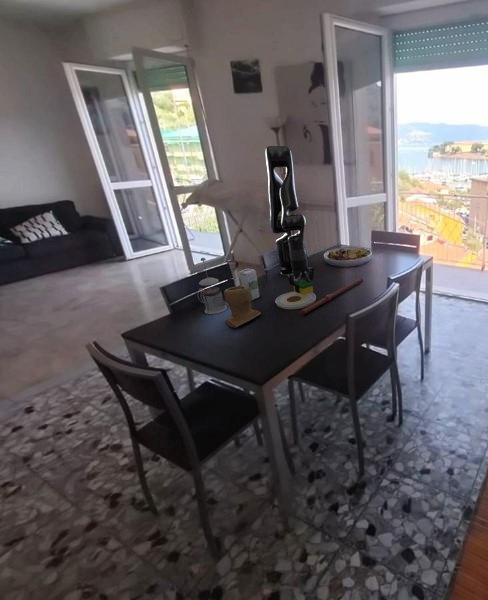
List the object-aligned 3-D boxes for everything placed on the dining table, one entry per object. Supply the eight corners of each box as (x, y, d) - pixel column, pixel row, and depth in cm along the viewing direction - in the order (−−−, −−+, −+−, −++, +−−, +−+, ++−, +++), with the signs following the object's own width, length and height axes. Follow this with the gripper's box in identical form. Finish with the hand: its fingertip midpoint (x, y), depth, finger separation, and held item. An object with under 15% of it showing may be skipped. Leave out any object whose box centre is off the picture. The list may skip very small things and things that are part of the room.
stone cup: (246, 310, 162) (239, 280, 156) (265, 315, 158) (259, 284, 151) (217, 325, 150) (209, 292, 144) (237, 331, 145) (229, 297, 139)
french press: (232, 306, 167) (220, 255, 157) (213, 317, 157) (198, 263, 147) (215, 303, 170) (202, 253, 160) (196, 314, 160) (180, 261, 150)
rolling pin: (306, 316, 156) (305, 310, 155) (300, 315, 158) (299, 308, 156) (364, 282, 192) (363, 277, 190) (359, 281, 193) (358, 276, 192)
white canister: (252, 295, 179) (246, 267, 173) (260, 296, 177) (255, 269, 171) (243, 299, 174) (237, 271, 168) (251, 301, 172) (246, 273, 166)
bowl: (333, 253, 242) (331, 242, 239) (376, 254, 238) (375, 242, 235) (317, 267, 215) (316, 255, 212) (366, 269, 211) (365, 256, 208)
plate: (268, 302, 171) (267, 299, 170) (301, 289, 184) (300, 287, 183) (290, 313, 160) (290, 310, 159) (324, 299, 173) (324, 296, 172)
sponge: (294, 291, 174) (292, 282, 172) (303, 288, 178) (302, 279, 176) (303, 295, 169) (302, 286, 167) (313, 291, 173) (312, 283, 171)
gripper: (306, 252, 173) (310, 284, 180) (280, 259, 164) (286, 293, 171) (316, 255, 169) (320, 288, 176) (290, 263, 159) (295, 297, 166)
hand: (303, 290), depth 173 cm, fingers closed on sponge, 5 cm apart
